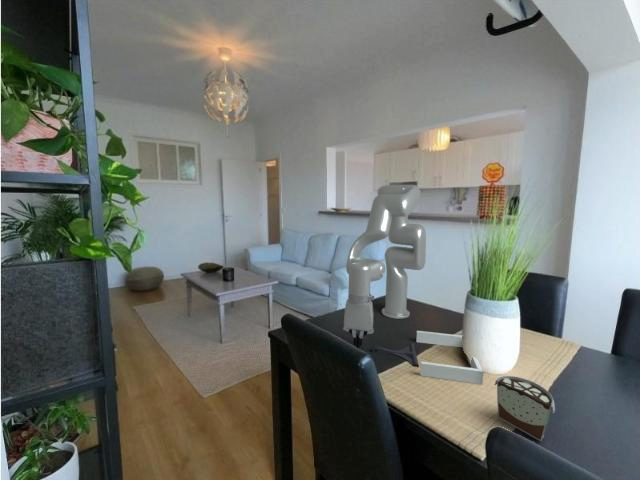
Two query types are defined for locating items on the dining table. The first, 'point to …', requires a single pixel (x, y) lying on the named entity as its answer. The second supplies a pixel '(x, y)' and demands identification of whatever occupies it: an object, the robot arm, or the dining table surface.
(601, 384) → the dining table surface
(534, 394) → the mint chocolate cake slice
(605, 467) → the dining table surface
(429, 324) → the dining table surface
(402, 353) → the bracket
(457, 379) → the box
